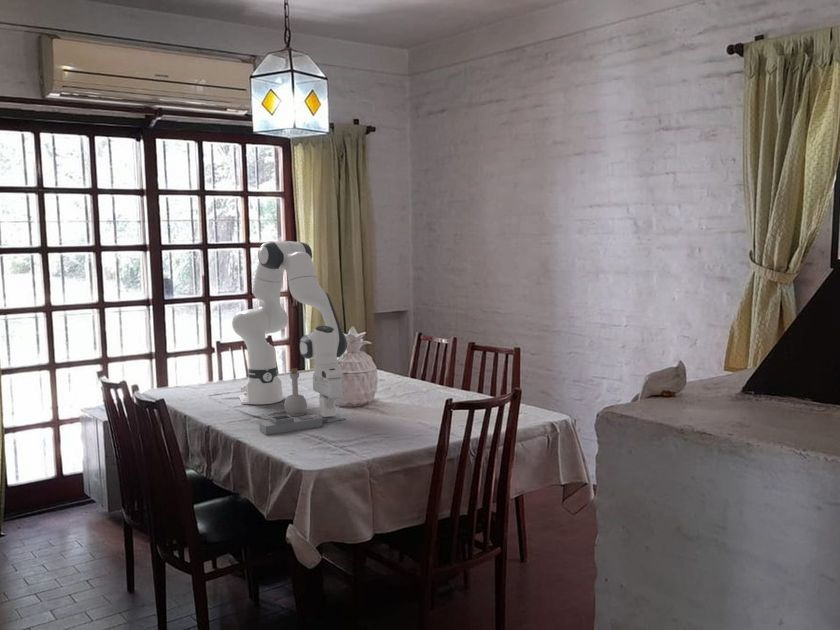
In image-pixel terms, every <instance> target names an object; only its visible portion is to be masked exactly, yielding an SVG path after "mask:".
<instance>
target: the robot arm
mask: <svg viewBox="0 0 840 630" xmlns="http://www.w3.org/2000/svg"><path fill="white" fill-rule="evenodd" d="M257 252H258V253H257V258H258V263H257V267H256V269H255V274H254V280H253V287H252V295H253V296H254V297H255V299H257V300H258V302H259V306H258V308H250V309H244V310H242V311H239V312H237V313H235V314H234V316H233V317H232V320H231V321H232V323H231V325H232V329H233V331H234V333H235V334H236V335H238V336H239V337H240V338H241V339H242V341H243V342H244V345H245V346H246V351H247V356H248V369H247V379H246V381H245V383H244V385H241V387H240V390H241V393H242V394H240V395H239V396H238V398H240V399H239V401H240V400H241V401H240V403H241V404H242V405H270V404H271V405H272V404H276V403H279V402H281V401H283V400H286V398H287V396H286V395H284V394H283V385H282V384H283V383H282V379H280V378H279V377H278V374H279V370H278V366H277V353H276V348H275V347H274V346H273V345H272V344H270V343H269V342H268V341H267V338H266V335H267V334H274V333H277V332H280V331H282V330H284V329H285V328H287V326H288V322H289V316H288V313H287V311H286V310H285V309H284V308H283V307H282V305H281V292H282V284H283V279H284V274H285V273H284V272H285V271H286V276H287V282H288V288H289V292H290V294H291V296H292V298H293V299H294V300H296V301H297V302H298V303H300V304H302V305H303V304H304V305H307V306H310V307H312V308H315V309H316V310H318V311H319V313H320V314H321V316H322V320H323V322H324V325H319V326H316V327H315V328H313V331H312V332H310V333H307V334H304V335H302V337H301V339H300V340H299V342H298V346H299V348H298V349H299V352H300V355H302V357H303V358H304V359H308V360H314V361H313V374H312V389H313V392H316V393H318V394H319V398H321V396H327V397H328V400H329V401H328V404H327V405H328V408H329V409H332V408H333V404H334V400H335V401H336V400H339V399H340V400H341V399H342V396H343V380H342V378H343V377H344V373H343V371H342V370H341V368H340V366H339V362H338V361H339V360H338V358H340V357H342V356H343V355H344V353H346V350H347V348H348V340H347V337H346V335H345V334H344V332H343V330H342V328H341V325H340V322H339V319H338V316H337V314H336V311H335V308H334V306H333V303H332V300H331V298H330V295H329V294H328V293H327V292H326V291H325V290H323V288H322V287H321V286H320V284H319V281H318V277H317V271H316V269H315V265H314V262H313V251H312V249H311V247H310V245H309V244H308V243H305V242H303V241H302V242H301V241H293V240H292V241H291V240H283V241H282V240H281V241H267V242H264V243H262V244H261V245H260V246H259V249H258V251H257Z"/></svg>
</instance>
